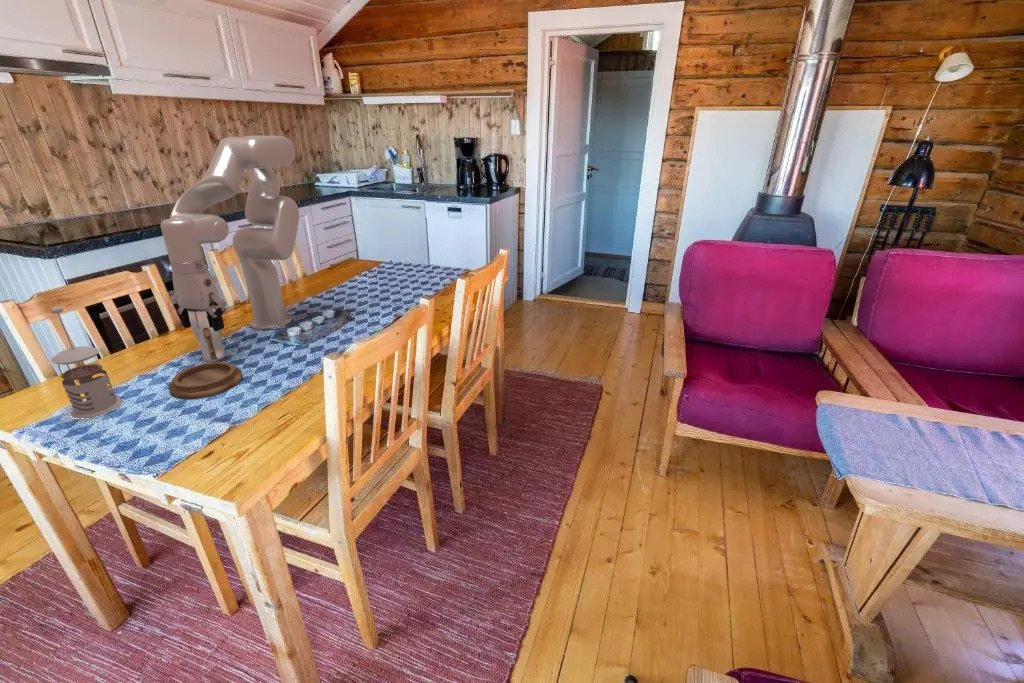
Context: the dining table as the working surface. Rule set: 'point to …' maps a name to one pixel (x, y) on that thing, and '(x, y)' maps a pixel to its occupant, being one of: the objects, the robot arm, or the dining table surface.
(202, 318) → the beer glass
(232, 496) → the dining table surface
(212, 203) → the robot arm
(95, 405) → the french press
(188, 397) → the round tray
